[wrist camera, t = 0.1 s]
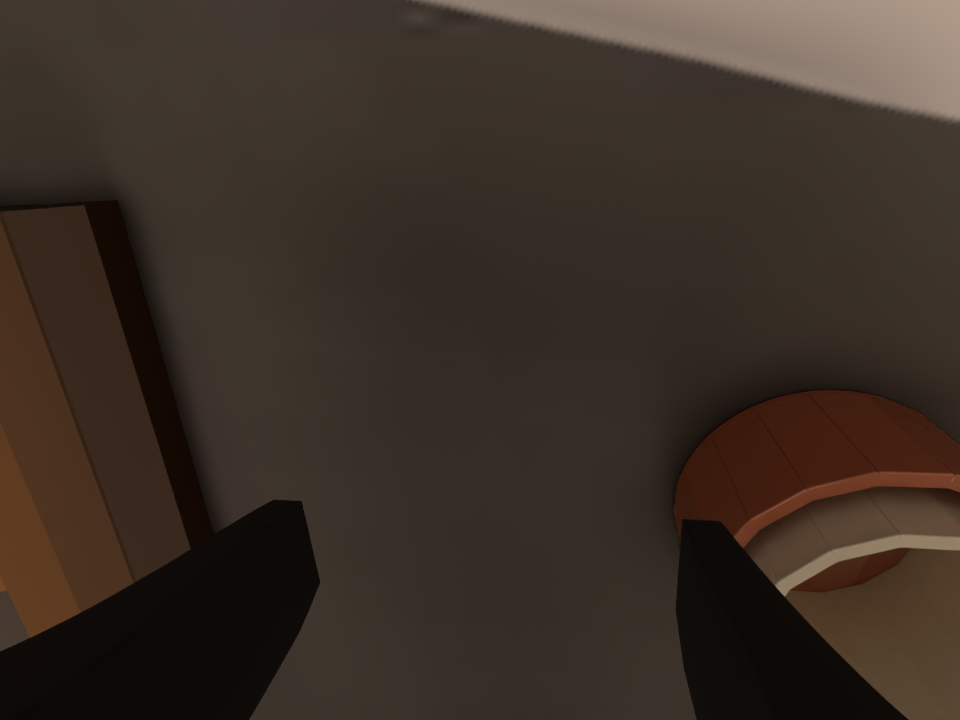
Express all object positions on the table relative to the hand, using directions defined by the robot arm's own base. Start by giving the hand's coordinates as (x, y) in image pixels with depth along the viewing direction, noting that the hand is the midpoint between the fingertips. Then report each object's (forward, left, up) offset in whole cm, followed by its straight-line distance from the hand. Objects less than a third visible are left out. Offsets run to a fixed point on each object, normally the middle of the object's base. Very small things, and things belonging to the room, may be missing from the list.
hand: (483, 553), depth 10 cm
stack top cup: (-6, -10, -10) cm, 15 cm away
